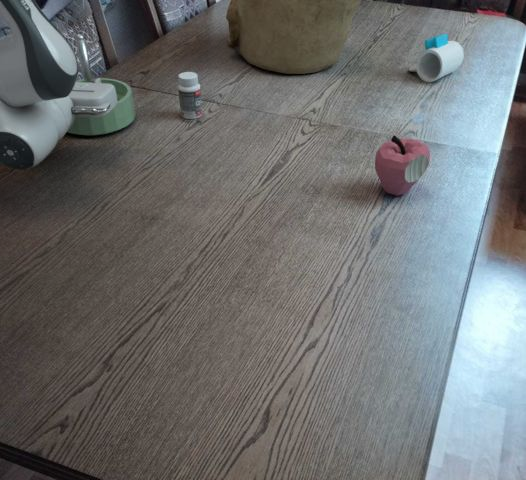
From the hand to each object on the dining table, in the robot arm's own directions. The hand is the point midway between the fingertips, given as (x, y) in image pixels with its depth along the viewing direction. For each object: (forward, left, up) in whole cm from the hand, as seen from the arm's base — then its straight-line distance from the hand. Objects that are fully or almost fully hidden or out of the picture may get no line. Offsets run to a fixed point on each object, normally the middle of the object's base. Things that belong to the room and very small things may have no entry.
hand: (74, 81), depth 107 cm
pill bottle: (+10, +21, -11) cm, 26 cm away
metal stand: (-3, +6, -10) cm, 12 cm away
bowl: (-4, +6, -11) cm, 13 cm away
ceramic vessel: (+5, +65, -11) cm, 66 cm away
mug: (+41, +77, -11) cm, 88 cm away
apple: (+61, +20, -11) cm, 65 cm away
